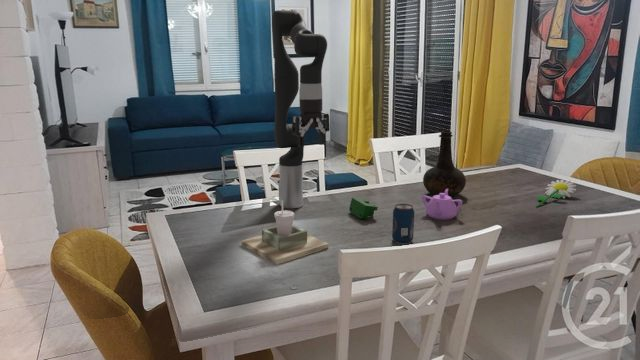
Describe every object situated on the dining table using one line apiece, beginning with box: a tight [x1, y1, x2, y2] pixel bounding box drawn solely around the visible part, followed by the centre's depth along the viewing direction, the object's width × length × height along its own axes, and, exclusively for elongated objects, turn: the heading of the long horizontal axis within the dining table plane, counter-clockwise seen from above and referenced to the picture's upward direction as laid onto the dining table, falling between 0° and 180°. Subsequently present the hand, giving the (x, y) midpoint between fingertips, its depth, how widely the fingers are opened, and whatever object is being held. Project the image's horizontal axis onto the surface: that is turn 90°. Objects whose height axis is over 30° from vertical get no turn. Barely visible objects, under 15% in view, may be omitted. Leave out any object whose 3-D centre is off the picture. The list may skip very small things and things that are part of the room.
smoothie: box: [273, 200, 295, 237], centre depth 161 cm, size 6×6×14 cm
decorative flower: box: [535, 179, 577, 208], centre depth 213 cm, size 13×5×30 cm
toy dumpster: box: [348, 197, 379, 220], centre depth 193 cm, size 12×6×9 cm, turn 17°
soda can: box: [391, 203, 415, 245], centre depth 167 cm, size 7×7×12 cm
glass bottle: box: [422, 130, 467, 198], centre depth 217 cm, size 18×18×28 cm
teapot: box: [421, 189, 463, 221], centre depth 192 cm, size 12×14×9 cm
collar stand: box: [240, 224, 329, 265], centre depth 163 cm, size 20×20×6 cm
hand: (311, 146), depth 170 cm, fingers open, 8 cm apart
